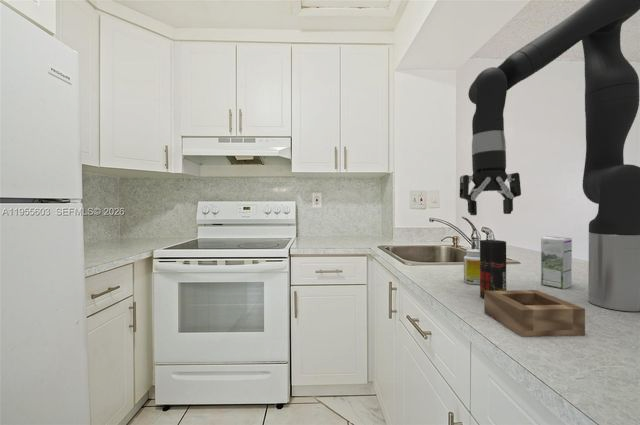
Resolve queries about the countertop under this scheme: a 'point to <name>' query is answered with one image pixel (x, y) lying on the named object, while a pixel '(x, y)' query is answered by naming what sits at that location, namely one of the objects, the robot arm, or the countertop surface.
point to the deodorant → (492, 266)
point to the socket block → (534, 313)
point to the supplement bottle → (472, 267)
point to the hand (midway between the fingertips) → (490, 214)
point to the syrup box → (556, 262)
